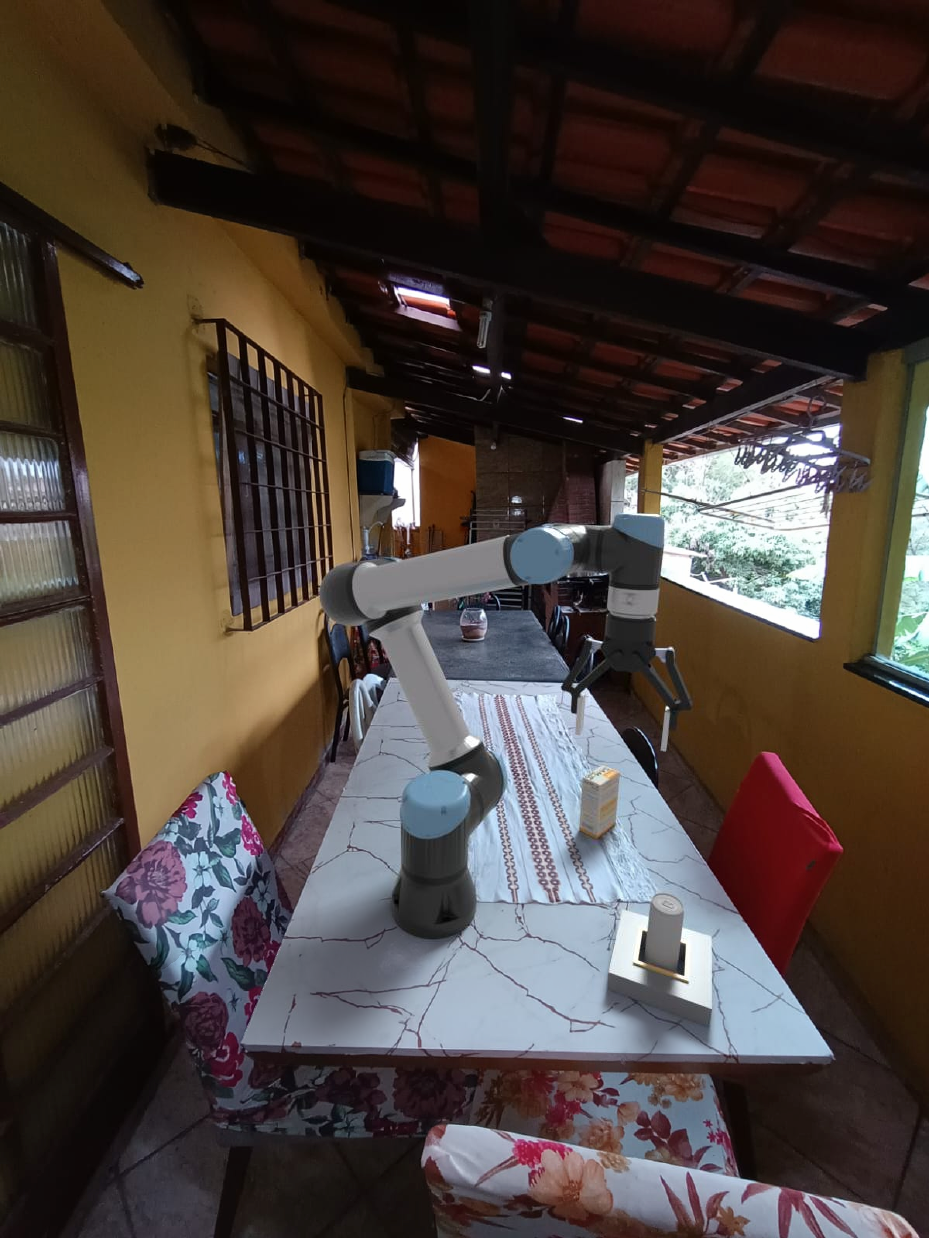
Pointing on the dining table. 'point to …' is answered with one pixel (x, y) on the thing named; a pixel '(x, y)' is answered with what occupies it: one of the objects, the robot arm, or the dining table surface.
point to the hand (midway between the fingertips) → (620, 739)
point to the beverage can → (664, 932)
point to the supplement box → (599, 801)
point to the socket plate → (663, 971)
